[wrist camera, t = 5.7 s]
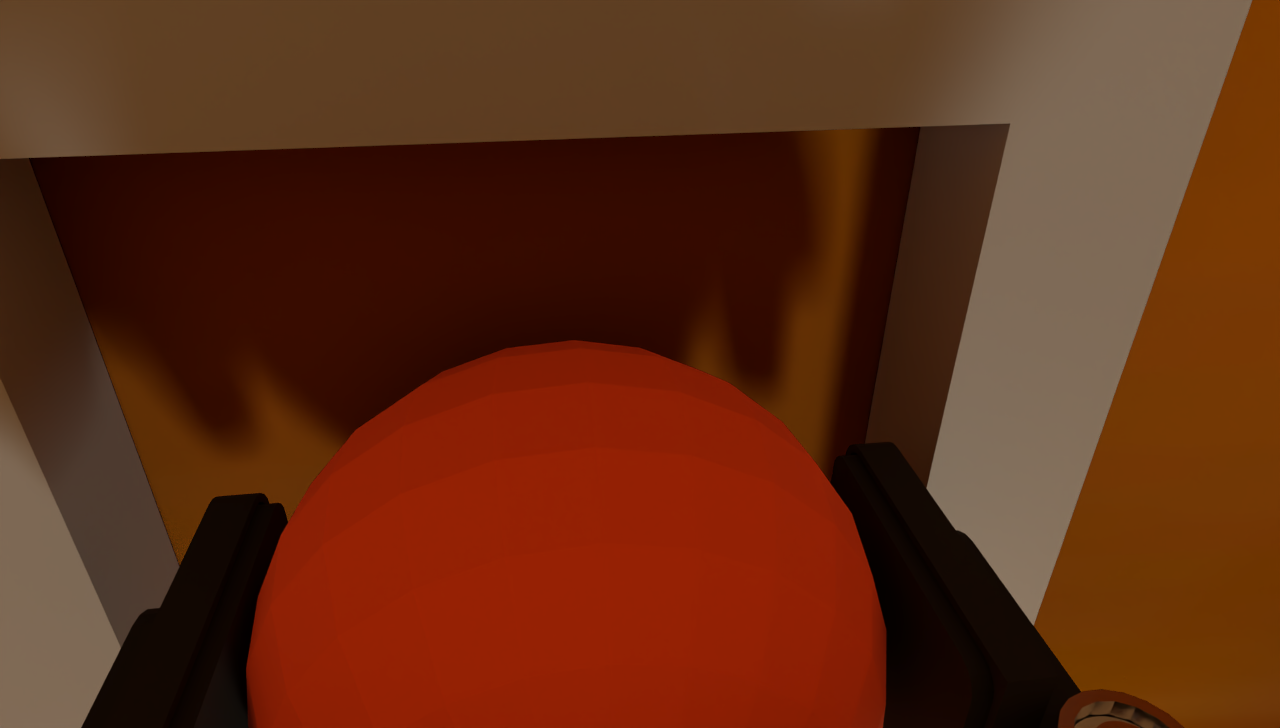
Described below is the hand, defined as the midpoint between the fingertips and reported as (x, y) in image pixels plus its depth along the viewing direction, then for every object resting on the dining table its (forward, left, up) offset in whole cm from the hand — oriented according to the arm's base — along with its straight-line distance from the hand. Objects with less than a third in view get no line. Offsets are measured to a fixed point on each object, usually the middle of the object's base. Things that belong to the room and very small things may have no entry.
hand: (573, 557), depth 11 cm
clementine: (0, 0, -2) cm, 2 cm away
